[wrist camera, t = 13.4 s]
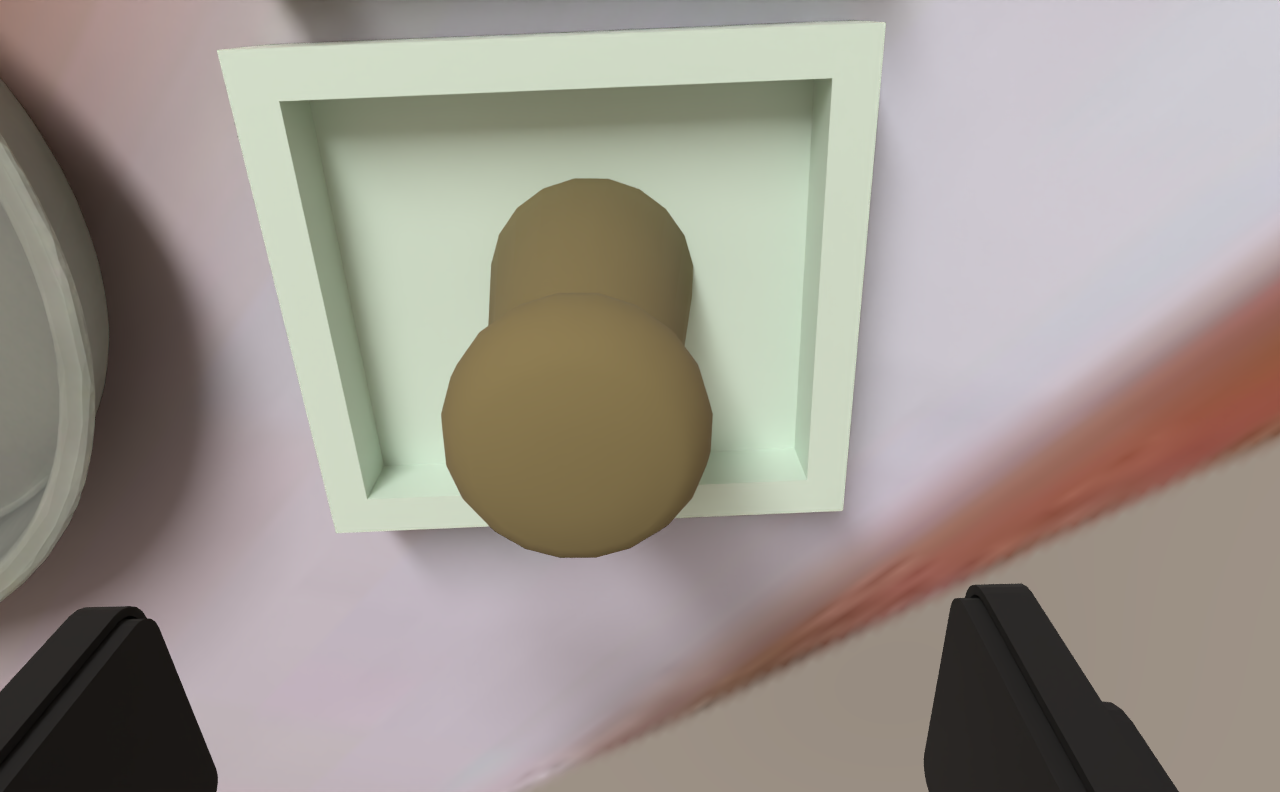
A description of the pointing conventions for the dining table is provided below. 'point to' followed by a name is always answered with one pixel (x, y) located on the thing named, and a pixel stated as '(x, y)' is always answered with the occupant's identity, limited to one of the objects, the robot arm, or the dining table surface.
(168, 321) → the dining table surface
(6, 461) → the cake pan
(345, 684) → the dining table surface
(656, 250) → the cork
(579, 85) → the tray
